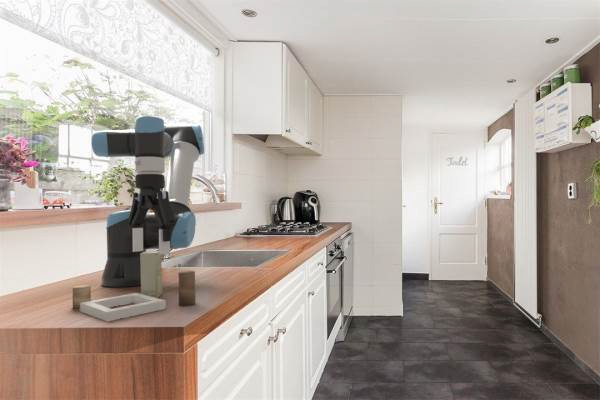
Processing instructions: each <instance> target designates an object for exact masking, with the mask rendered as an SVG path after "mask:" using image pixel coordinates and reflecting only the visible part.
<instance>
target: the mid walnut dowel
mask: <svg viewBox="0 0 600 400" xmlns="http://www.w3.org/2000/svg"><path fill="white" fill-rule="evenodd" d="M177 276H178V280H177V281H178V306H180V307H190V306H191V307H192V306H194V305H196V271H195V270H182V271H178V275H177Z"/></svg>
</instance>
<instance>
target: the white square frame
mask: <svg viewBox="0 0 600 400" xmlns="http://www.w3.org/2000/svg"><path fill="white" fill-rule="evenodd" d="M166 303H167V302H166V300H165V299H161V298H159V297H158V298H154V297H150V296H146V295H142V294H141V293H138V292H132V293H127V294H122V295H115V296H110V297H106V298H100V299H95V300H91V301H88V302H82V303H80V309H79V312H81V313H84V314H87V315H89V316H91V317H95V318H97V319H100V320H101V321H102V320H103V321H105V322H112V321H116V319H117V320H121V319H120V318H122V319H125V318H130V316H131V317H134V316H139V315H143V314H144V315H145V314H148V313H153V312H158V311H162V310H166V307H167V304H166ZM129 304H130V305H129ZM119 305H120V306H121V307H120V306H119ZM114 306H115V307H116V308H114ZM118 306H119V307H118Z"/></svg>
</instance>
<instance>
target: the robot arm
mask: <svg viewBox="0 0 600 400" xmlns="http://www.w3.org/2000/svg"><path fill="white" fill-rule="evenodd" d="M91 149H92V152H93V153H94V155H95V156H96V157H101V158H102V157H103V158H104V157H105V158H117V157H118V158H119V157H124V158H126V157H133V158H134V159H135V160H134V164H135V172H136V175H135V177H134V180H135V181H134V184H135V189H139V190H140V191H139V192H133V194H132V195H133V197H132V204H131V208H130V210H129V209H127V210H121V211H115V212H110V213H108V215H107V219H106V227H105V229H106V253H107V254H106V256H107V257H106V258H107V259H106V263H105V265H104V269H103V272H102V275H101V277H100V278H101V279H100V281H101V286H104V287H110V288H116V287H117V288H120V287H121V288H123V287H134V286H135V287H136V286H141V266H140V253H143V252H145V251H147V250H158V251H159V255H161V256H162V255H170V254H171V249H172V250H173V249H174V250H177V249H186V248H188V247H190V246H191V244H193V241H194V238H195V234H196V225H197V222H196V220H197V219H196V215H195V213H194V212H192V209H191V208H190V206H189V200H190V193H191V185H192V180H193V171H194V165H195V163H196V162H197V160H199V157H200V156H202V155H205V143H204V136H203V130H202V127H201V125H200V124H198V123H165V121H164V119H163V118H162V117H161V116H156V115H140V116H138V117H137V116H136V118H135V121H134V129H126V130H125V129H122V130H121V129H120V130H96V131H94V133H93V134H92V136H91ZM168 157H169V163H168V167H167V173H166V178H165V174H164V173H165V172H166V171H165V170H166V166H165V161H166V160H165V159H166V158H168ZM162 189H163V190H162ZM149 210H151V211H152V212H148V211H149Z"/></svg>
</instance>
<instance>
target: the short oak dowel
mask: <svg viewBox="0 0 600 400" xmlns="http://www.w3.org/2000/svg"><path fill="white" fill-rule="evenodd" d="M71 289H72V292H71V293H72V310H80V303H82V302H88V301H92V300H91V299H92V290H91V289H92V286H91V285H87V284H86V285H77V286H72V288H71Z"/></svg>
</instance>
